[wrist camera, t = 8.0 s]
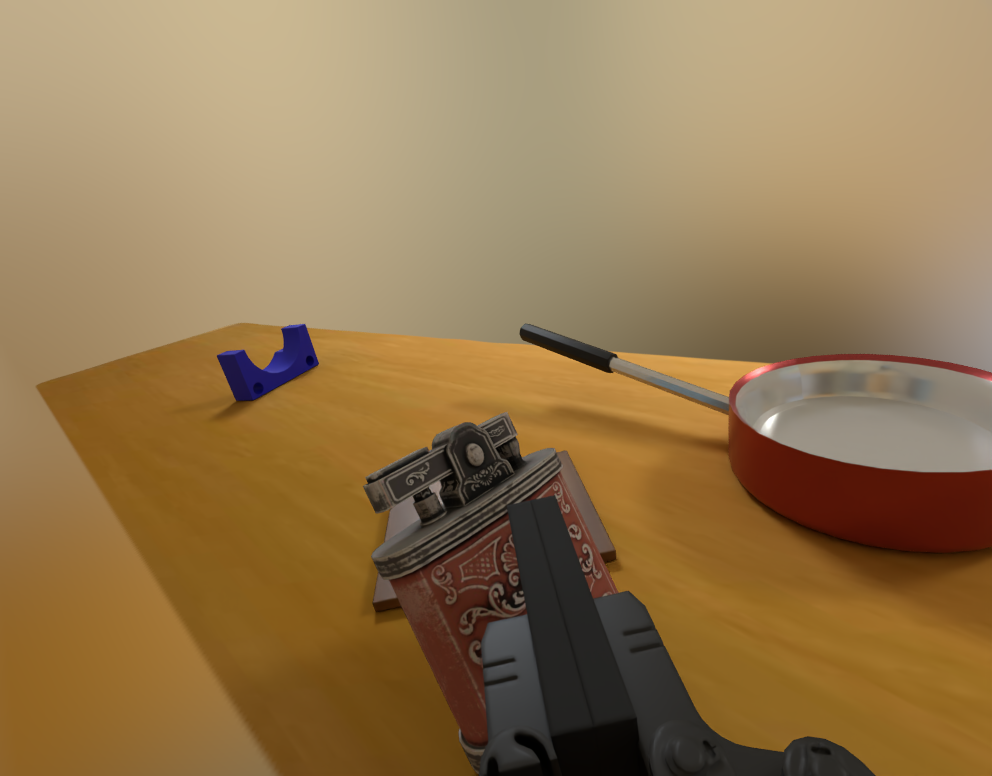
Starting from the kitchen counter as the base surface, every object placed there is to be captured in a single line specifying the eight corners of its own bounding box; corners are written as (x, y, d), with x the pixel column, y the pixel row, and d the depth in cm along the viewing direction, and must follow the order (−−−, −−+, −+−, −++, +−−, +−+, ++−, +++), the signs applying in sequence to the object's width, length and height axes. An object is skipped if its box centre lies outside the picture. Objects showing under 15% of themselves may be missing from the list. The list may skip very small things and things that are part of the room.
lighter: (595, 605, 21) (498, 402, 21) (656, 617, 18) (544, 382, 18) (452, 751, 16) (326, 489, 16) (505, 797, 13) (353, 480, 13)
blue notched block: (295, 365, 69) (281, 326, 67) (318, 363, 67) (305, 323, 65) (227, 400, 59) (208, 356, 56) (253, 400, 57) (233, 354, 55)
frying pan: (465, 429, 39) (448, 358, 37) (559, 372, 47) (550, 310, 45) (1053, 611, 17) (1108, 460, 14) (1040, 443, 25) (1073, 328, 22)
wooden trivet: (375, 612, 22) (371, 603, 22) (396, 494, 32) (394, 486, 32) (616, 559, 23) (615, 550, 23) (567, 457, 32) (566, 450, 32)
